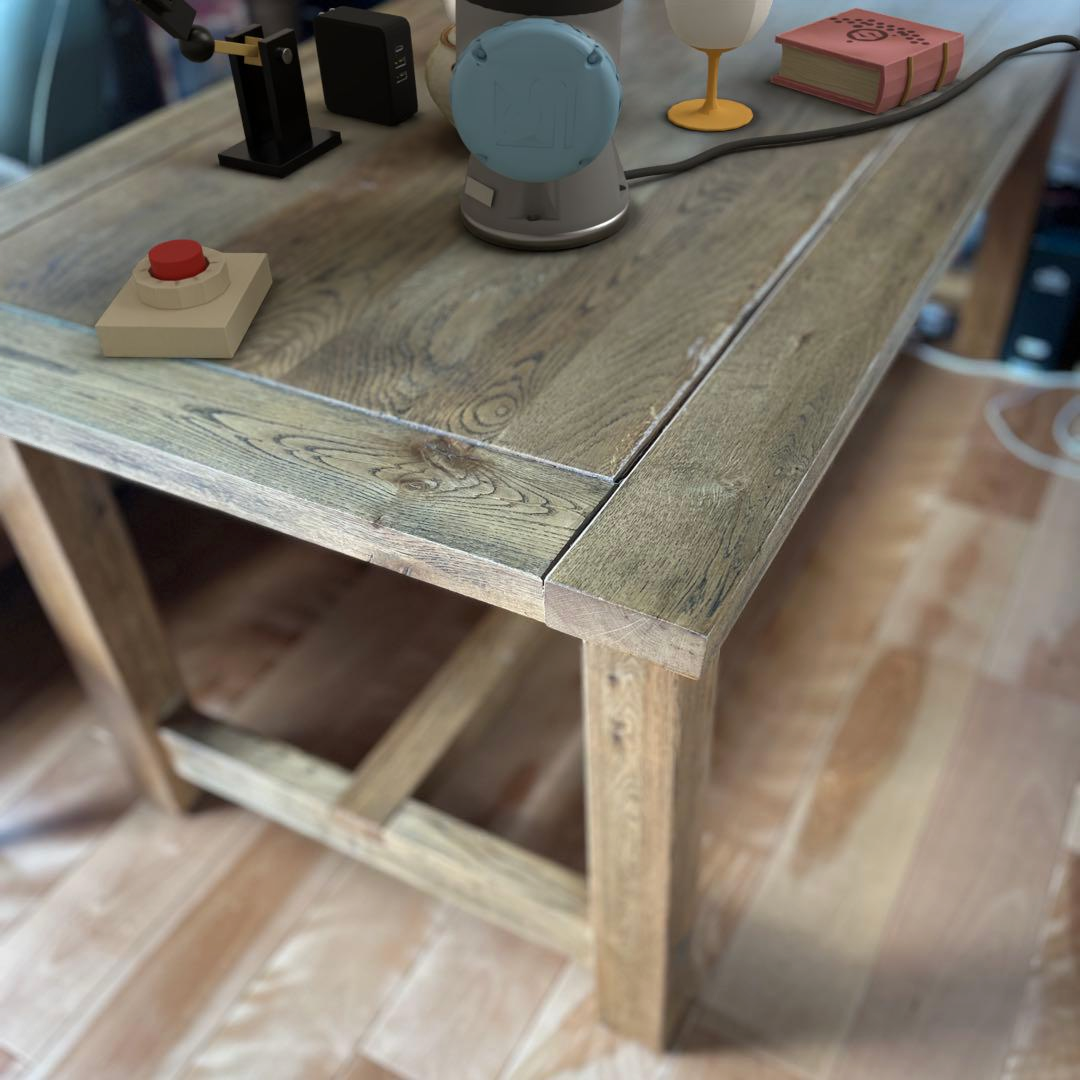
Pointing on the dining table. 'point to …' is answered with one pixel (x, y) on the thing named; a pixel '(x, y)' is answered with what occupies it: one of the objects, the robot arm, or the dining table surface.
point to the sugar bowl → (442, 70)
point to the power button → (177, 260)
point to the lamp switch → (273, 109)
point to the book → (868, 59)
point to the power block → (186, 309)
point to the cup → (714, 54)
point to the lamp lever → (217, 47)
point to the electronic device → (366, 64)
